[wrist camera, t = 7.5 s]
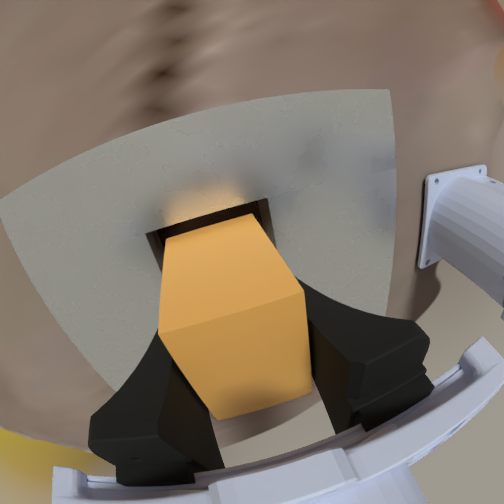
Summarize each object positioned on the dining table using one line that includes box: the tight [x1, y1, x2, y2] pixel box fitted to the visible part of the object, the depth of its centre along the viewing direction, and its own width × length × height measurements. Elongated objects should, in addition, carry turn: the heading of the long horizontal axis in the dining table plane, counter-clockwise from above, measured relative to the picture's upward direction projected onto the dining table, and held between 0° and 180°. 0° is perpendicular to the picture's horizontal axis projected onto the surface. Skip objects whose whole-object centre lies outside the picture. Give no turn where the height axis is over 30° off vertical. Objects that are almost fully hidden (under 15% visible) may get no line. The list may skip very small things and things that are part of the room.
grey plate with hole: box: [0, 89, 396, 392], centre depth 14 cm, size 20×16×2 cm
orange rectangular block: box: [158, 214, 312, 421], centre depth 11 cm, size 4×6×6 cm
